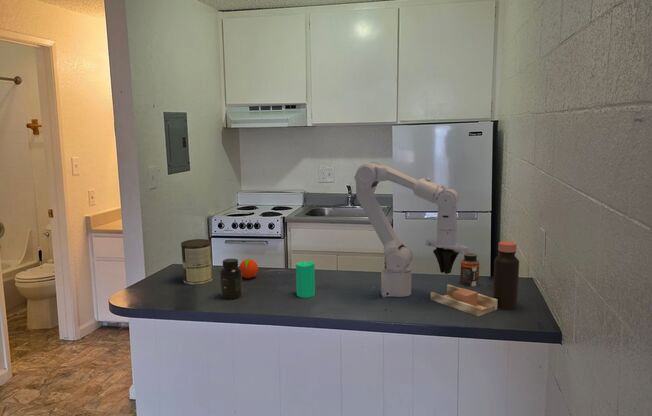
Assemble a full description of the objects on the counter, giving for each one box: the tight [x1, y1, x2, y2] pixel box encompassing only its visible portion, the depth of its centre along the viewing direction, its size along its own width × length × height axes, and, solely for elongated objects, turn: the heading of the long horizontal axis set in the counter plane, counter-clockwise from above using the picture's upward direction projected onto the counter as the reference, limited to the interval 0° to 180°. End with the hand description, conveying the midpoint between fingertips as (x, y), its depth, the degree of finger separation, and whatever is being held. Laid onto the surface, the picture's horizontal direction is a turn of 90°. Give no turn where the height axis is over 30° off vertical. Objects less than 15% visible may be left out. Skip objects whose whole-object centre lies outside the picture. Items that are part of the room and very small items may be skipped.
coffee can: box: [180, 238, 213, 285], centre depth 177 cm, size 10×10×14 cm
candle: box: [295, 260, 316, 299], centre depth 160 cm, size 6×6×12 cm
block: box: [453, 288, 479, 306], centre depth 146 cm, size 5×5×4 cm
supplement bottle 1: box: [219, 258, 243, 300], centre depth 160 cm, size 7×7×12 cm
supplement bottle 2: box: [459, 252, 480, 287], centre depth 166 cm, size 6×6×11 cm
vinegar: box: [492, 240, 520, 311], centre depth 144 cm, size 7×7×20 cm
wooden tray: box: [430, 284, 498, 317], centre depth 149 cm, size 18×16×4 cm
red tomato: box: [238, 258, 259, 279], centre depth 179 cm, size 8×7×7 cm
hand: (445, 272), depth 151 cm, fingers closed
